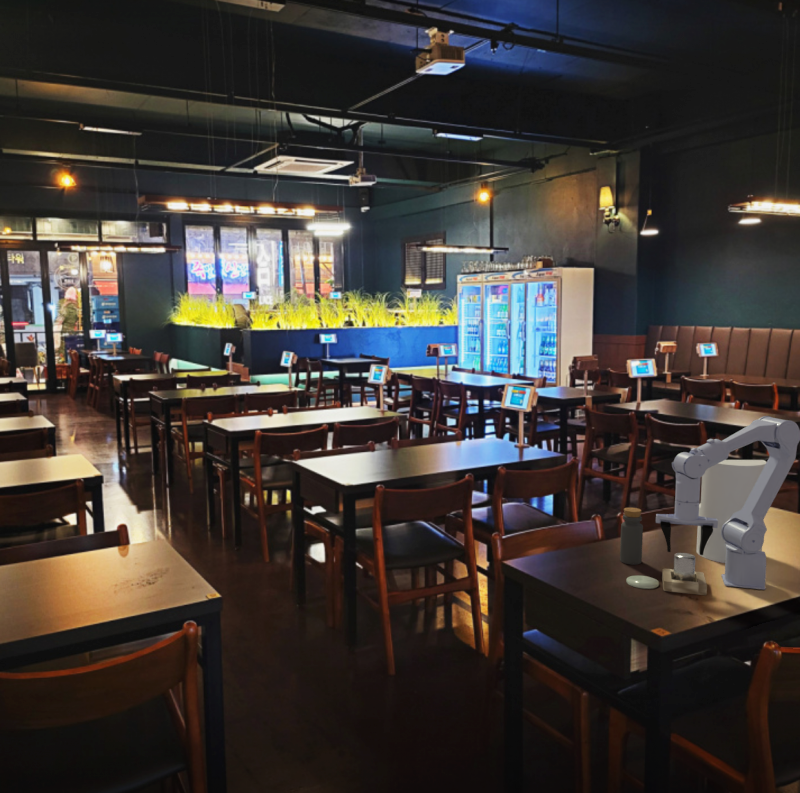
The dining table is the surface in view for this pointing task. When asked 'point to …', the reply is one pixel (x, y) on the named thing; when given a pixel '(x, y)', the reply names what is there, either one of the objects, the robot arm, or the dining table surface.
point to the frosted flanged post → (684, 567)
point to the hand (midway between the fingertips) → (684, 552)
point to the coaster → (642, 582)
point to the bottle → (631, 537)
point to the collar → (684, 583)
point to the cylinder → (725, 499)
